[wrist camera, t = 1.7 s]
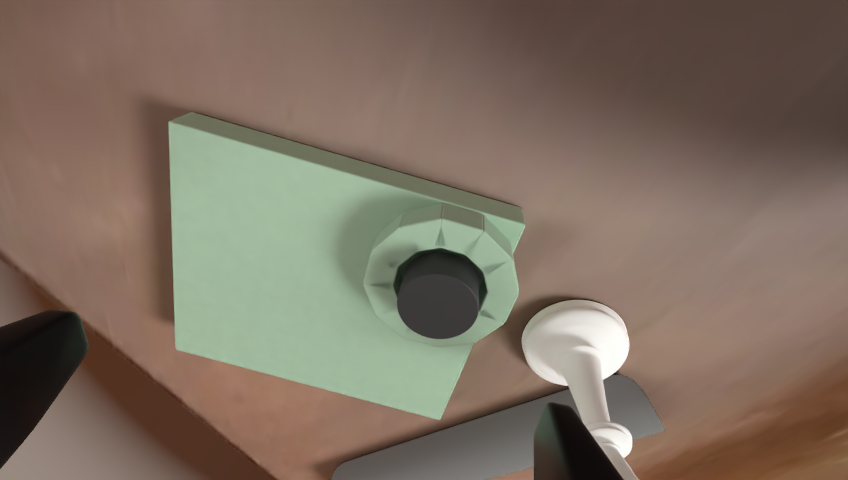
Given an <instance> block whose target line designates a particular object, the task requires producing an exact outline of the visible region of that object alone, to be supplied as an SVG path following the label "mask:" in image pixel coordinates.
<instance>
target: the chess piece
mask: <svg viewBox="0 0 848 480" xmlns="http://www.w3.org/2000/svg"><path fill="white" fill-rule="evenodd" d="M522 349H523V352H524V354H525V357H526V360H527V362H528V364H529V366H530V367H531V369H532V370H533V371H534V372H535V373H536V374H537V375H539V376H540V377H542V378H543V379H545V380H547V381H549V382H552V383H555V384H559V385H564V386H569V389H570V391H571V394H572V396H573V398H574V401H575V403H576V406H577V408H578V411H579V413H580V416H581V419H582V422H583V423H584V425H585V426H586V428H587V429H588V430H589V432H590V433H591V435H592V436H593V437H594V439H595V440H596V442H597V443H598V444H599V446H600V447H601V448H602V450H603V451H604V453H605V454H606V455H607V457H608V458H609V460H610V461H611V462H612V464H613V465H614V467H615V468H616V469H617V471H618V472H619V474H620V475H621V476H622V478H623V479H624V480H639V479H638V478H637V477H636V475H635V474H634V473H633V471H632V469H631V468H630V466H629V464H628V463H627V462H626V461H625V459H624V457H626V456H627V455H628V454H629V453H630V451H631V449H632V435H631V433H630V432H629V430H628V429H627V428H625V427H624V426H622V425H620V424H618V423H614V422H610V417H609V413H608V408H607V402H606V396H605V390H604V384H603V380H604V379H606V378H607V377H609V376H611V375H612V374H613V373H615V372H616V371H617V370H618V369H619V368H620V367H621V366H622V364H623V363H624V361H625V360H626V358H627V355H628V352H629V338H628V335H627V329H626V326H625V324H624V322H623V320H622V319H621V317H620V316H619V315H618V314H617V313H616V312H615V311H613V310H612V309H610V308H609V307H607V306H605V305H603V304H600V303H597V302H593V301H588V300H568V301H563V302H559V303H556V304H553V305H550V306H548V307H546V308H544V309H543V310H541V311H540V312H538V313H537V314H536V315H535V316H533V317H532V319H531V320H530V321H529V322H528V324H527V325H526V327H525V329H524V331H523V335H522Z"/></svg>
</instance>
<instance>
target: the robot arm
mask: <svg viewBox="0 0 848 480" xmlns="http://www.w3.org/2000/svg"><path fill="white" fill-rule="evenodd" d="M87 351H88V341H87V338H86V334H85V331H84V328H83V325H82V322H81V319H80V317H79V315H78V314H77V313H75V312H71V311H65V310H60V309H51V310H47V311H44V312H42V313H39V314H36V315H33V316H30V317H27V318H25V319H22V320H19V321H16V322H13V323H11V324H8V325H5V326H2V327H0V469H1V468H2V466H3V465H4V464H5V463H6V462H7V461H8V459H9V458H10V457H11V456H12V455H13V453H14V452H15V451H16V450H17V449H18V447H19V446H20V445H21V444H22V443H23V442H24V440H25V439H26V438H27V437H28V435H29V434H30V433H31V432H32V430H33V429H34V428H35V426H36V425H37V424H38V422H39V421H40V420H41V418H42V417H43V416H44V414H45V413H46V411H47V410H48V409H49V407H50V405H51V404H52V403H53V401H54V400H55V399H56V397H57V396H58V394H59V393H60V391H61V390H62V389H63V387H64V386H65V384H66V383H67V381H68V380H69V379H70V377H71V376H72V375H73V373H74V372H75V370H76V369H77V367H78V366H79V365H80V363H81V362H82V360H83V359H84V357H85V356H86V354H87ZM534 480H624V479H623V478H622V476H621V475H620V474H619V472H618V471H617V469H616V468H615V467H614V465H613V464H612V462H611V461H610V460H609V458H608V457H607V455H606V454H605V453H604V451H603V450H602V448H601V447H600V446H599V444H598V443H597V442H596V440H595V439H594V437H593V436H592V435H591V433H590V432H589V430H588V429H587V428H586V426H585V425H584V423H583V422H582V421H581V419H580V418H579V416H578V415H577V414H576V412H575V411H574V410H573V408H572V407H570V406H569V405H566V404H561V403H555V402H548V403H547V404H546V405H545V407H544V410H543V412H542V415H541V417H540V419H539V422H538V424H537V427H536V429H535V433H534Z"/></svg>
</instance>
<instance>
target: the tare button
mask: <svg viewBox="0 0 848 480" xmlns="http://www.w3.org/2000/svg"><path fill="white" fill-rule="evenodd" d="M397 309H398V313H399V315H400V317H401V319H402V321H403V322H404V323H405V325H406V326H407V327H408V328H410V329H411V330H412V331H414V332H415V333H417V334H419V335H421V336H424V337H427V338H432V339H449V338H453V337H456V336H459V335H461V334H463V333H465V332H466V331H467V330H469V329H470V328H471V327H472V325H473V324H474V323H475V321H476V319H477V317H478V313H479V282H478V277H477V274H476V272H475V271H474V269H473V268H472V266H471V265H470V264H469V263H468V262H466V261H465V260H464V259H462V258H461V257H459V256H457V255H454V254H451V253H447V252H431V253H427V254H424V255H421V256H419V257H417V258H416V259H415V260H413V261H412V262H411V263H410V264H409V265H408V267H407V268H406V270H405V272H404V275H403V279H402V283H401V287H400V291H399V294H398V299H397Z"/></svg>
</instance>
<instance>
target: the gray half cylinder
mask: <svg viewBox="0 0 848 480" xmlns="http://www.w3.org/2000/svg"><path fill="white" fill-rule="evenodd" d="M603 384H604V390H605V396H606V402H607V408H608V413H609V417H610V422H614V423H618V424H620V425H622V426H624V427H625V428H627V429H628V430H629V432H630V433H631V435H632V440H634V439H638V438H642V437H645V436H649V435H653V434H656V433H660V432H664V431H665V430H664V429H663V427H664V426H663V424H662V422H661V421H660V419H659V417H658V415H657V413H656V411H655V410H654V408H653V406H652V404H651V402H650V401H649V399H648V398H647V396H646V394H645V393H644V391H643V390H642V389H641V388H640V387H639V386H638V385H637V384H636V382H635V381H634V380H632V379H630V378H628V377H626V376H623V375H611V376H609V377H607V378H606V379H604V380H603ZM548 402H555V403H561V404H566V405H569V406H570V407H572V408H573V410H574V411H575V412H576V414H577V415H578V416H579V418H580V419H581V416H580V413H579V411H578V408H577V406H576V403H575V401H574V398H573V396H572V394H571V391H570V389H567V390H564V391H561V392H558V393H555V394H552V395H549V396H546V397H543V398H540V399H537V400H533V401H530V402H527V403H524V404H521V405H518V406H515V407H512V408H509V409H506V410H503V411H500V412H497V413H494V414H491V415H488V416H484V417H481V418H478V419H475V420H472V421H469V422H466V423H463V424H460V425H457V426H454V427H451V428H448V429H445V430H442V431H439V432H436V433H432V434H429V435H426V436H423V437H420V438H417V439H414V440H411V441H408V442H405V443H402V444H399V445H396V446H393V447H390V448H387V449H384V450H380V451H377V452H374V453H371V454H368V455H365V456H362V457H359V458H356V459H353V460H350V461H347V462H344V463H342V464H341V465H340V466H338V467H337V468H336V470H335V471H334V473H333V475H332V480H487V479H491V478H495V477H498V476H502V475H506V474H509V473H513V472H517V471H520V470H524V469H528V468H531V467H534V433H535V429H536V427H537V424H538V422H539V419H540V417H541V415H542V412H543V410H544V407H545V405H546V404H547V403H548ZM581 421H582V419H581Z"/></svg>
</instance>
